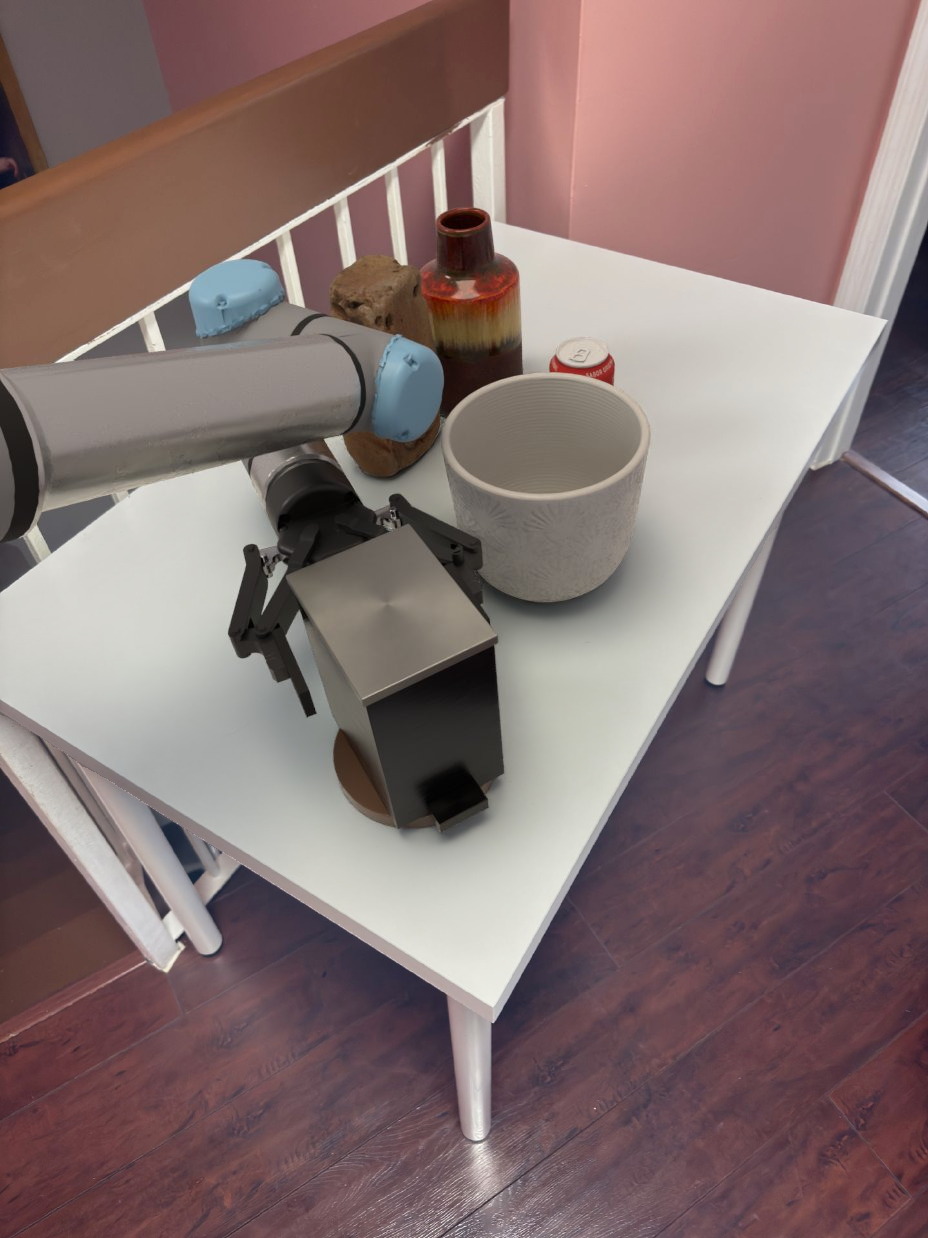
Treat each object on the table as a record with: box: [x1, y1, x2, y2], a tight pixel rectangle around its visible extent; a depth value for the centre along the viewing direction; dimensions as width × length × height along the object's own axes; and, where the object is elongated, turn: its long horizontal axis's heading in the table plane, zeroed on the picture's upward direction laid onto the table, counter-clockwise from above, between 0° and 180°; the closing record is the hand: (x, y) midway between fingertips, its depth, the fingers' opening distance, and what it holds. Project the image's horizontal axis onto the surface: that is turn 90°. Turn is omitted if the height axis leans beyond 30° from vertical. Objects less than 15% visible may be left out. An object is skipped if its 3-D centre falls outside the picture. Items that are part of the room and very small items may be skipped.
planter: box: [440, 371, 651, 603], centre depth 80 cm, size 17×17×15 cm
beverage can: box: [548, 336, 616, 387], centre depth 91 cm, size 6×6×12 cm
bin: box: [286, 524, 505, 834], centre depth 64 cm, size 9×14×16 cm, turn 29°
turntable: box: [332, 727, 495, 829], centre depth 71 cm, size 13×13×2 cm
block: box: [328, 253, 441, 478], centre depth 91 cm, size 11×8×20 cm
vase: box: [419, 206, 524, 419], centre depth 97 cm, size 11×11×20 cm
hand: (399, 668), depth 64 cm, fingers open, 13 cm apart
